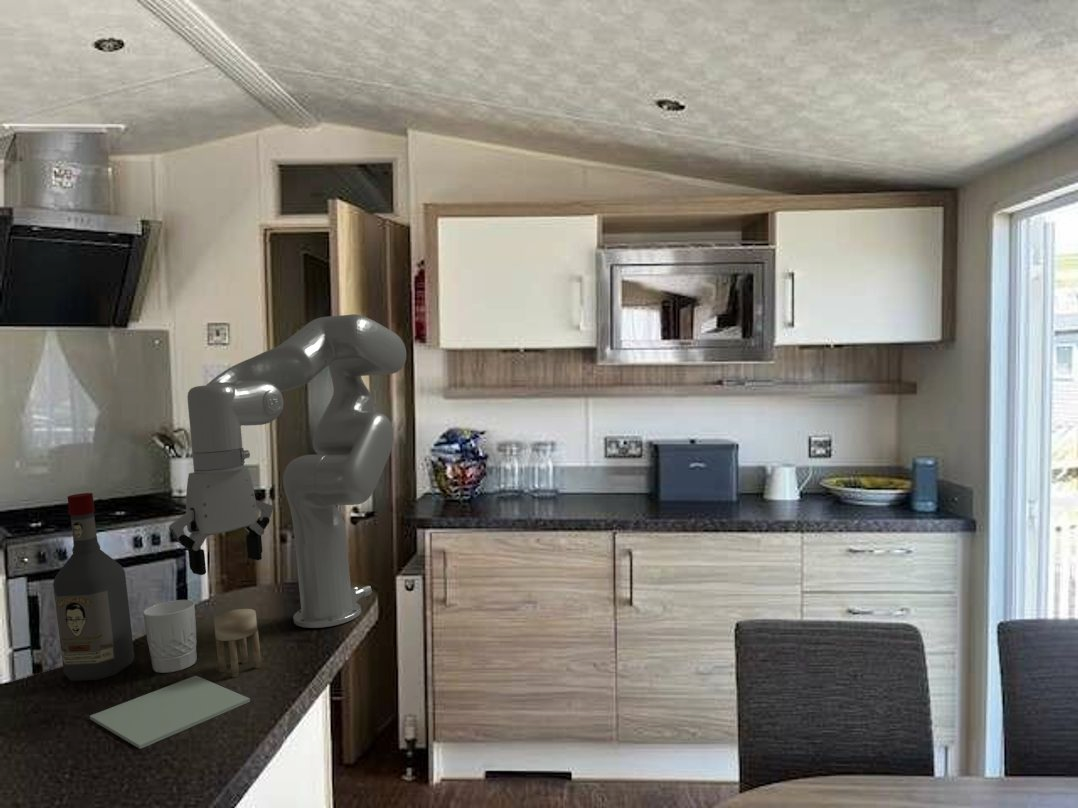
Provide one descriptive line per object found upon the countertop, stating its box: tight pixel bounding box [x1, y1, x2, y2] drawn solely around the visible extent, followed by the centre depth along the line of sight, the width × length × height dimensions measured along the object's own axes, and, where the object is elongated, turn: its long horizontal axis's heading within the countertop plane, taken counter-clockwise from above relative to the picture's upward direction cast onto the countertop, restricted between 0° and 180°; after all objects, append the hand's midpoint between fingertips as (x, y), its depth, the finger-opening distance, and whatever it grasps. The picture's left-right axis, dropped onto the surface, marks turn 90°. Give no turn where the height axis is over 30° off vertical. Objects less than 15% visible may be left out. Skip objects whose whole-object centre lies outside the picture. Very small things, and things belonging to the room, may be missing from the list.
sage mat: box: [89, 675, 251, 750], centre depth 116 cm, size 16×16×1 cm
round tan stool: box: [213, 608, 262, 678], centre depth 130 cm, size 6×6×9 cm
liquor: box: [52, 492, 135, 682], centre depth 133 cm, size 9×9×30 cm
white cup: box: [142, 599, 198, 674], centre depth 134 cm, size 8×8×10 cm
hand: (227, 566), depth 129 cm, fingers open, 9 cm apart
